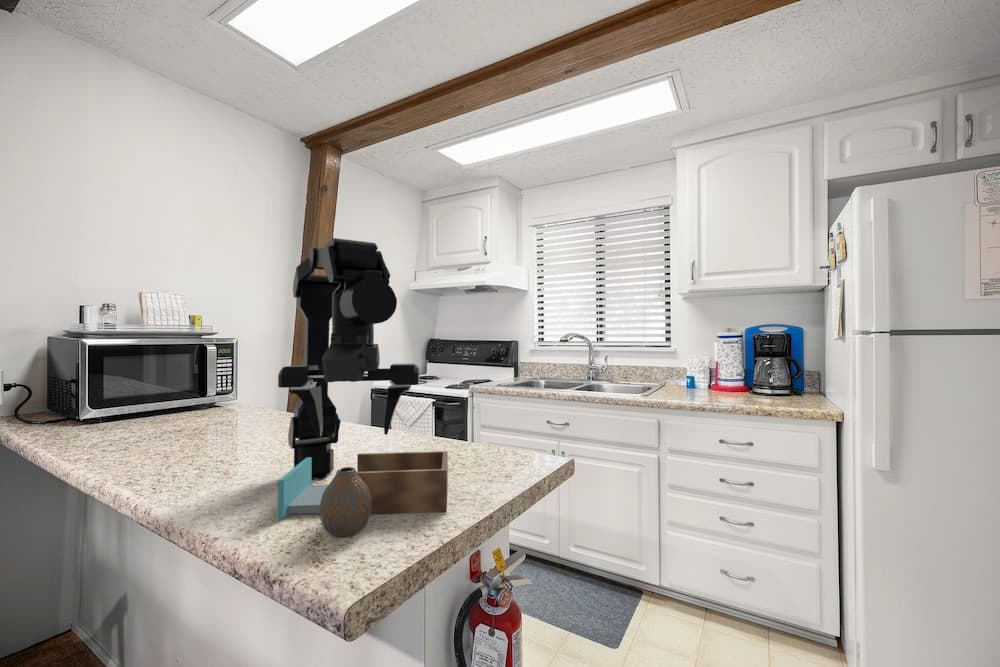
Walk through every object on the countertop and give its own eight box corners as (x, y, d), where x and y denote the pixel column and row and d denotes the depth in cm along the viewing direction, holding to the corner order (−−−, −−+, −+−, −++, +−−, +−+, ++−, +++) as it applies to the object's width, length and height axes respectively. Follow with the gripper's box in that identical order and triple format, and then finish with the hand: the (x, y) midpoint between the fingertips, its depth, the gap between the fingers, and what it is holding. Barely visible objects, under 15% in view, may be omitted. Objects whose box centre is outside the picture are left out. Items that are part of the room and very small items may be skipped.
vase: (362, 543, 58) (362, 477, 58) (310, 542, 58) (311, 476, 58) (377, 521, 65) (377, 462, 65) (331, 521, 65) (331, 462, 65)
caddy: (341, 516, 67) (341, 473, 67) (358, 489, 79) (358, 453, 79) (446, 511, 69) (446, 470, 69) (447, 486, 81) (447, 451, 81)
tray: (277, 518, 66) (278, 480, 66) (306, 489, 78) (306, 457, 79) (386, 513, 67) (386, 476, 67) (397, 485, 80) (397, 454, 80)
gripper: (262, 324, 54) (261, 451, 54) (416, 324, 57) (416, 445, 56) (291, 327, 65) (291, 433, 65) (419, 327, 68) (419, 428, 67)
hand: (353, 435), depth 63 cm, fingers open, 9 cm apart
